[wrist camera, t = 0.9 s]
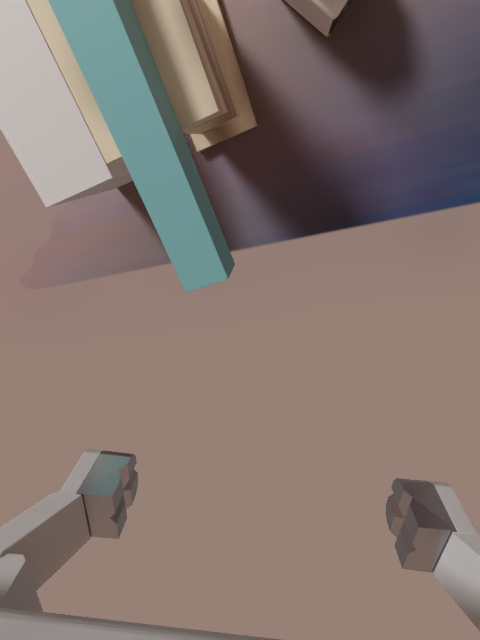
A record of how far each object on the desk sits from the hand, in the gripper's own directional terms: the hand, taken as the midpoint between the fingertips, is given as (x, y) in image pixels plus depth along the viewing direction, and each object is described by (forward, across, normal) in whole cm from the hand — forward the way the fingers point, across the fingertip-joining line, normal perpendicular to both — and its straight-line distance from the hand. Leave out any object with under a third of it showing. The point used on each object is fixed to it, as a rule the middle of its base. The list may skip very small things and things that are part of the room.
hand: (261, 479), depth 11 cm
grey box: (+43, +21, -12) cm, 49 cm away
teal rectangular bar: (+16, +8, -13) cm, 22 cm away
